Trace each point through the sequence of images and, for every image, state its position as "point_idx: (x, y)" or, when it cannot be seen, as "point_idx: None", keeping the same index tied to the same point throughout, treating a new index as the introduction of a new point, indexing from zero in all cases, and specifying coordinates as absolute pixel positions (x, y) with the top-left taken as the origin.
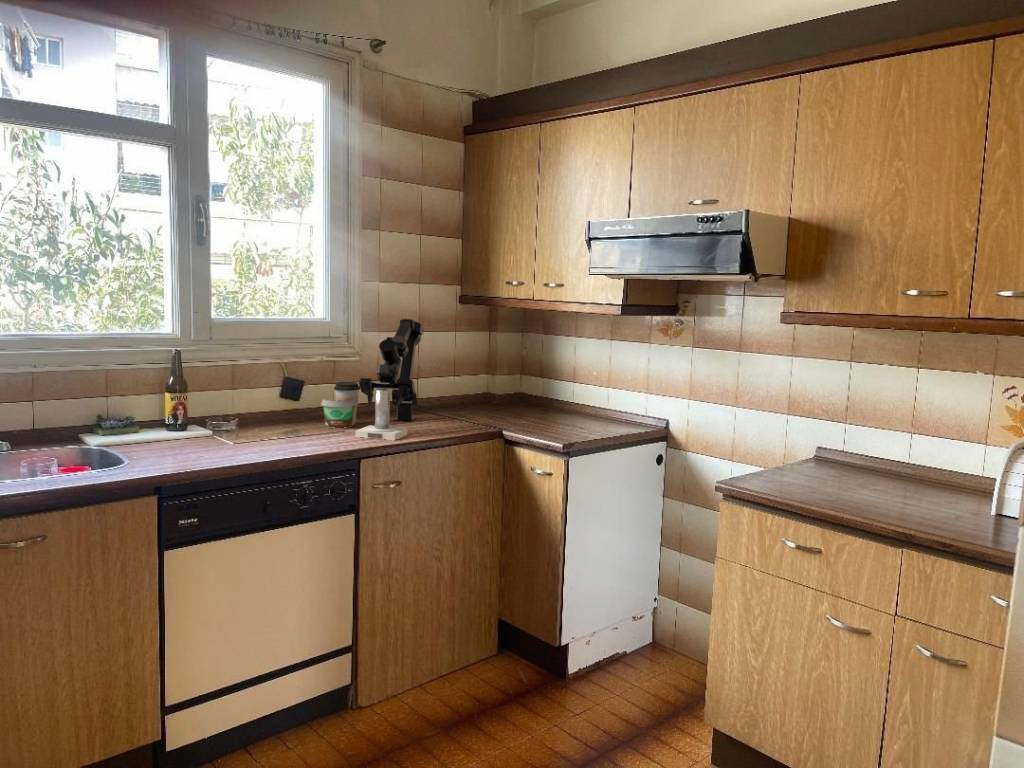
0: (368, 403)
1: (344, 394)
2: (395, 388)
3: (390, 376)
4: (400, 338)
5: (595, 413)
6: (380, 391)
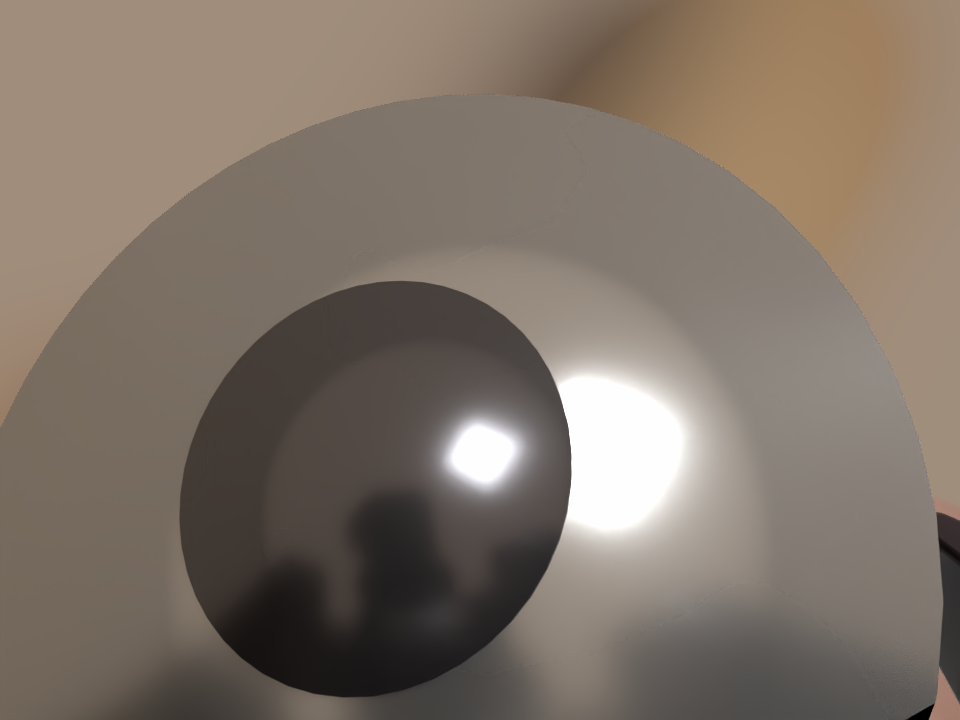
0: (955, 521)
1: None
2: None
3: None
4: None
5: None
6: (390, 122)
